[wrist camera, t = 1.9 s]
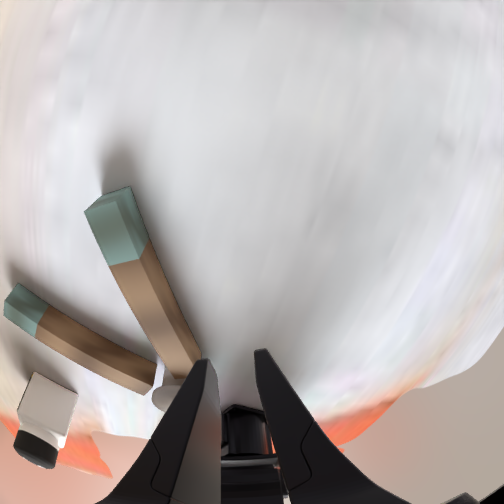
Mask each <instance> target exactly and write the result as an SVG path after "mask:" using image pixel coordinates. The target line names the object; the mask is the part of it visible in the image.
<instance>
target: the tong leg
mask: <svg viewBox="0 0 504 504" xmlns="http://www.w3.org/2000/svg"><path fill="white" fill-rule="evenodd" d="M84 213H85V215H86V218H87V220H88V223H89V225H90V227H91V230H92V232H93V234H94V236H95V239H96V241H97V243H98V245H99V247H100V249H101V252H102V254H103V256H104V258H105V260H106V262H107V264H108V266H109V268H110V270H111V272H112V274H113V276H114V278H115V280H116V282H117V284H118V286H119V288H120V290H121V292H122V293H123V295H124V297H125V299H126V301H127V303H128V304H129V306H130V308H131V310H132V312H133V313H134V315H135V317H136V319H137V320H138V322H139V324H140V325H141V327H142V329H143V331H144V332H145V334H146V335H147V337H148V339H149V340H150V342H151V344H152V345H153V347H154V348H155V350H156V352H157V353H158V355H159V356H160V358H161V359H162V361H163V362H164V364H165V365H166V367H167V368H168V370H169V371H170V373H171V374H172V376H173V377H174V379H183V378H186V377H187V375H188V373H189V372H190V370H191V368H192V367H193V365H194V363H195V362H196V360H198V359H201V351H200V349H199V347H198V345H197V343H196V341H195V339H194V337H193V335H192V333H191V331H190V329H189V327H188V325H187V323H186V321H185V319H184V317H183V315H182V313H181V310H180V308H179V306H178V304H177V302H176V300H175V297H174V295H173V293H172V291H171V289H170V286H169V284H168V282H167V279H166V277H165V275H164V273H163V270H162V268H161V265H160V263H159V261H158V258H157V256H156V253H155V251H154V249H153V246H152V244H151V241H150V239H149V236H148V234H147V231H146V228H145V226H144V223H143V221H142V218H141V215H140V213H139V210H138V207H137V204H136V202H135V199H134V196H133V193H132V190H131V188H130V187H126V188H123V189H120V190H117V191H115V192H112V193H109V194H106V195H103V196H101V197H99V198H98V199H97V200H96V201H95V202H94V203H93V204H92V205H91V206H90V207H89V208H87V209H86V210H85V211H84Z"/></svg>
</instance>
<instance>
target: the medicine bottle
mask: <svg viewBox="0 0 504 504" xmlns="http://www.w3.org/2000/svg"><path fill="white" fill-rule="evenodd" d="M77 399H78V394H76V393H74V392H72V391H70V390H68V389H66V388H64V387H62V386H60V385H58V384H57V383H55V382H53V381H51V380H49V379H47V378H46V377H44V376H42V375H40V374H38V373H37V372H33V374H32V376H31V378H30V380H29V383H28V385H27V387H26V390H25V392H24V394H23V397H22V399H21V402H20V404H19V406H18V409H17V413H18V418H19V422H20V427H19V430H18V433H17V436H16V439H15V442H14V445H13V446H14V449H15V450H16V451H17V453H18V454H19V455H20V456H22V457H23V458H25V459H26V460H28V461H30V462H32V463H33V464H36V465H38V466H40V467H42V468H46V469H53V468H54V467H55V463H56V459H57V455H58V451H59V447H60V448H64V445H65V442H66V438H67V434H68V431H69V427H70V423H71V420H72V417H73V413H74V410H75V406H76V403H77Z"/></svg>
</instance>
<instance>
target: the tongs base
mask: <svg viewBox="0 0 504 504" xmlns="http://www.w3.org/2000/svg"><path fill="white" fill-rule="evenodd" d="M4 316H5V317H6V318H8V319H9V320H10V321H12V322H13V323H14V324H16V325H17V326H19V327H20V328H21V329H23V330H24V331H26V332H27V333H29V334H30V335H32V336H33V337H35V338H36V339H38V340H39V341H41V342H42V343H44V344H45V345H47V346H49V347H50V348H52V349H53V350H55V351H57V352H58V353H60V354H62V355H63V356H65V357H67V358H69V359H70V360H72V361H74V362H76V363H77V364H79V365H81V366H83V367H85V368H87V369H89V370H90V371H92V372H94V373H96V374H98V375H100V376H102V377H104V378H106V379H108V380H110V381H112V382H114V383H117V384H119V385H121V386H123V387H125V388H127V389H130V390H132V391H134V392H136V393H139V394H141V395H143V396H144V395H145V394H146V393H147V392H148V391H149V390H150V389H151V388H152V387H153V384H154V379H155V373H156V368H157V364H155V363H153V362H151V361H149V360H146V359H144V358H142V357H140V356H138V355H136V354H134V353H132V352H130V351H128V350H126V349H124V348H122V347H120V346H118V345H116V344H115V343H113V342H111V341H109V340H107V339H105V338H103V337H102V336H100V335H98V334H96V333H95V332H93V331H91V330H89V329H88V328H86V327H84V326H82V325H81V324H79V323H77V322H76V321H74V320H72V319H71V318H69V317H68V316H66V315H64V314H63V313H61V312H60V311H58V310H57V309H55V308H53V307H52V306H50V305H49V304H47V303H46V302H44V301H43V300H41V299H40V298H39V297H37V296H36V295H34V294H33V293H31V292H30V291H29V290H27V289H26V288H24V287H23V286H22V285H20V284H19V283H18V284H17V285H16V287H15V288H14V289H13V290H12V292H11V293H10V294H9V296H8V297H7V298H6V300H5V302H4ZM185 379H186V378H183V379H174V377H173V376H172V374H171V373H170V371H169V370H168V368H167V367H165V371H164V377H163V383H162V386H161V387H158V388H156V389H155V390H154V391H153V394H152V402H153V404H154V405H155V406H156V407H157V408H158V409H160V410H161V411H164V412H166V411H167V409H168V407H169V406H170V404H171V402H172V401H173V399H174V397H175V396H176V394H177V392H178V390H179V389H180V387H181V385H182V384H183V382H184V380H185Z"/></svg>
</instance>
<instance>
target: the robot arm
mask: <svg viewBox="0 0 504 504" xmlns="http://www.w3.org/2000/svg"><path fill="white" fill-rule="evenodd" d="M254 360H255V375H256V383H257V388H258V391H259V395H260V399H261V402H262V406H263V410H264V412H263V411H259V410H255V409H250V408H246V407H242V406H239V405H232V406H231V407H229V408H228V409H227V410H226V411H224V412H223V413H222V414H221V410H220V400H219V391H218V381H217V374H216V371H215V369H214V368H213V366H212V364H211V362H210V360H209V359H208V358H205V359H198V360H196V362H195V363H194V365H193V367H192V368H191V370H190V372H189V373H188V375H187V377H186V379H185V380H184V382H183V384H182V385H181V387H180V389H179V390H178V392H177V394H176V396H175V397H174V399H173V401H172V402H171V404H170V406H169V407H168V409H167V411H166V412H165V414H164V416H163V418H162V419H161V421H160V423H159V424H158V426H157V428H156V429H155V431H154V433H153V434H152V436H151V439H149V441H148V443H147V445H146V446H145V448H144V449H143V451H142V452H141V454H140V456H139V457H138V459H137V460H136V461H135V463H134V464H133V465H132V467H131V468H130V470H129V471H128V472H127V473H126V474H125V476H124V477H123V478H122V480H121V481H120V482H119V483H118V484H117V486H116V487H115V488H114V489H113V491H112V492H111V493H110V494H109V495H108V496H107V497H105V498H104V499H103V500H101V501H99V502H97V503H95V504H284V502H283V498H288V495H289V498H290V502H291V504H411V503H409V502H407V501H405V500H403V499H401V498H399V497H398V496H396V495H394V494H392V493H390V492H389V491H387V490H385V489H383V488H381V487H380V486H378V485H377V484H375V483H374V482H373V481H371V480H370V479H369V478H368V477H367V476H365V475H364V474H363V473H362V472H361V471H360V470H359V469H358V468H357V467H356V466H355V465H354V464H353V463H351V461H350V460H349V459H347V458H346V457H345V456H344V455H343V454H342V453H341V452H340V451H339V449H338V448H337V447H336V446H335V445H334V444H333V443H332V442H331V441H330V440H329V438H328V437H327V436H326V434H325V433H324V432H323V430H322V429H321V428H320V426H319V425H318V424H317V422H316V421H315V420H314V418H313V417H312V415H311V414H310V412H309V411H308V409H307V408H306V407H305V405H304V404H303V402H302V401H301V399H300V398H299V396H298V395H297V394H296V392H295V391H294V389H293V388H292V386H291V385H290V383H289V382H288V380H287V379H286V377H285V376H284V374H283V373H282V371H281V370H280V368H279V367H278V365H277V364H276V362H275V361H274V359H273V358H272V356H271V355H270V353H269V352H268V350H267V349H265V348H264V349H259V350H255V351H254ZM271 438H272V441H273V445H274V448H275V452H276V453H274V454H273V450H272V442H271ZM441 504H504V484H503V485H502V486H500V487H499V488H498V489H496V490H495V491H493V492H492V493H491V494H489V495H488V496H486V497H485V498H483V499H482V500H480V501H479V502H478V501H477V500H476V499H474V498H473V497H472V496H471V495H469V494H468V493H466V492H465V493H462V494H460V495H458V496H456V497H454V498H452V499H450V500H448V501H446V502H444V503H441Z"/></svg>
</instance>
